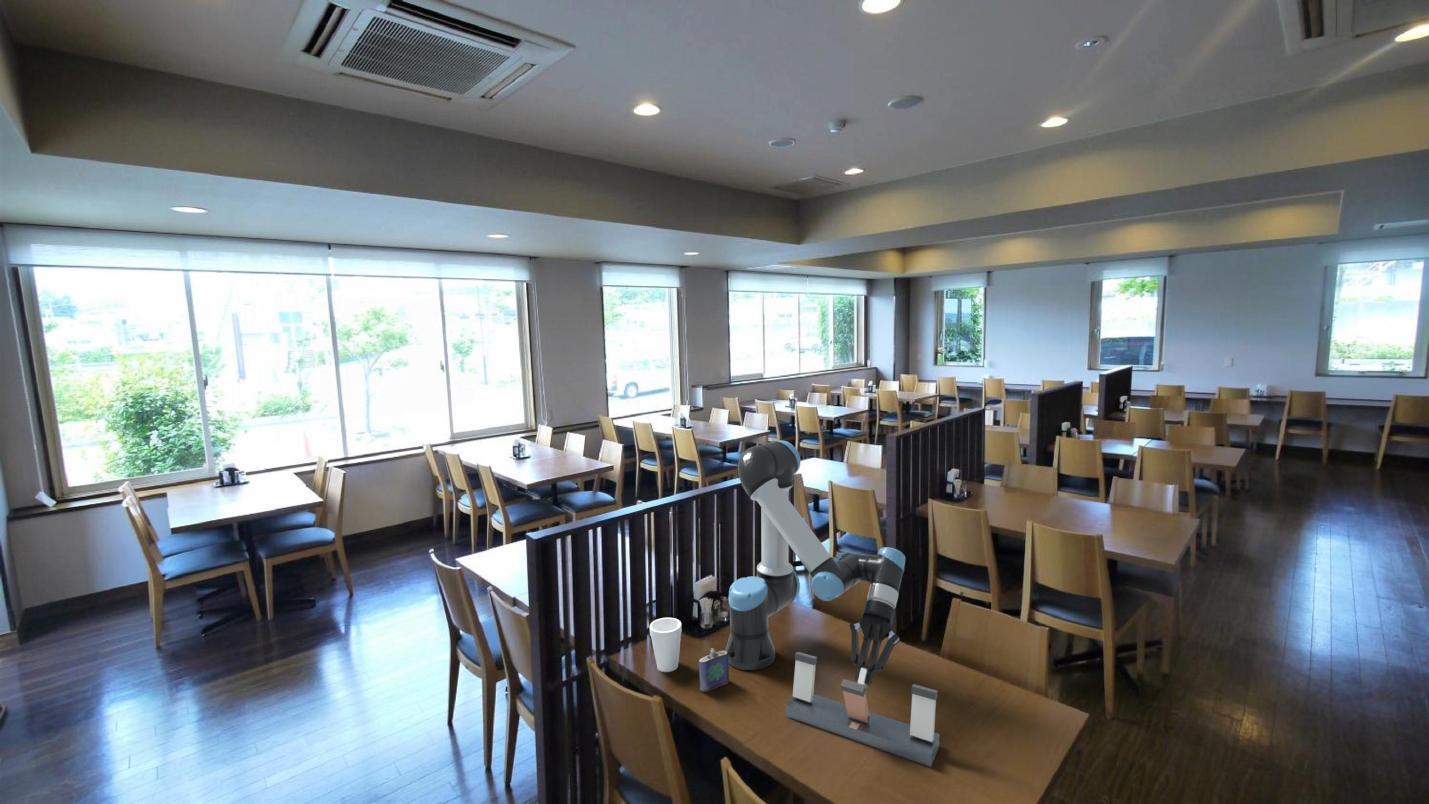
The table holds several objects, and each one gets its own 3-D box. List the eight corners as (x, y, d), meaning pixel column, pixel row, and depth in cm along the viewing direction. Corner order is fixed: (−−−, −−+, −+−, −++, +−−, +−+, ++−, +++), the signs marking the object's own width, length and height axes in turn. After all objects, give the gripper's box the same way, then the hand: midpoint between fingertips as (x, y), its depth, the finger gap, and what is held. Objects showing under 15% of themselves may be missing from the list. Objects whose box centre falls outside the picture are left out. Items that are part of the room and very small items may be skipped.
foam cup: (678, 676, 171) (676, 633, 170) (648, 673, 173) (645, 631, 172) (686, 658, 181) (684, 618, 179) (657, 656, 182) (655, 616, 181)
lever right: (910, 732, 138) (913, 684, 140) (934, 740, 135) (937, 690, 137) (908, 735, 137) (911, 686, 138) (932, 743, 134) (935, 692, 135)
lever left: (794, 695, 155) (798, 651, 156) (813, 701, 152) (817, 657, 153) (791, 697, 153) (795, 653, 154) (810, 703, 150) (814, 658, 151)
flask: (702, 693, 162) (701, 656, 161) (697, 688, 165) (696, 652, 164) (731, 682, 167) (729, 646, 166) (725, 677, 170) (724, 642, 169)
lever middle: (849, 710, 147) (843, 678, 142) (870, 717, 144) (865, 685, 139) (847, 717, 145) (840, 685, 141) (868, 724, 142) (862, 692, 138)
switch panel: (799, 699, 158) (798, 688, 157) (939, 745, 138) (939, 733, 138) (785, 716, 151) (785, 704, 151) (931, 767, 131) (931, 753, 131)
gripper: (908, 615, 155) (888, 709, 143) (860, 604, 162) (838, 693, 150) (902, 604, 150) (881, 700, 138) (853, 593, 157) (829, 684, 145)
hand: (859, 696), depth 144 cm, fingers closed
